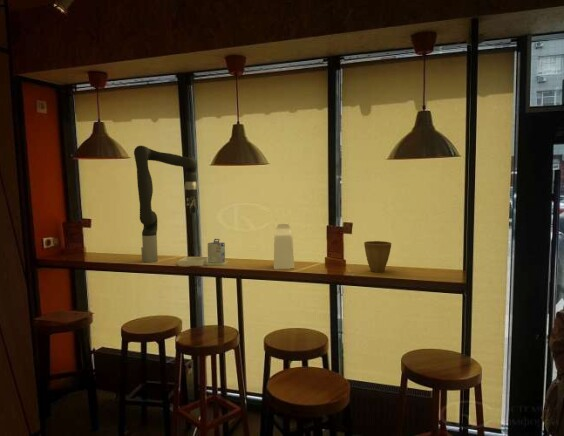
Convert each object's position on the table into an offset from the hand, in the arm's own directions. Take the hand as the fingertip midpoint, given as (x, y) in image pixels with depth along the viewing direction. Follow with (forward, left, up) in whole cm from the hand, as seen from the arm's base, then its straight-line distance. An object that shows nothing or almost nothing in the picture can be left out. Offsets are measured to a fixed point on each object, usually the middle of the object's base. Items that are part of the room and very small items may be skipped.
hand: (191, 213), depth 290 cm
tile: (+20, -12, -31) cm, 39 cm away
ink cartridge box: (+20, -12, -30) cm, 38 cm away
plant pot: (+118, -30, -31) cm, 125 cm away
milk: (+64, -21, -31) cm, 74 cm away
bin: (+5, -12, -31) cm, 34 cm away
